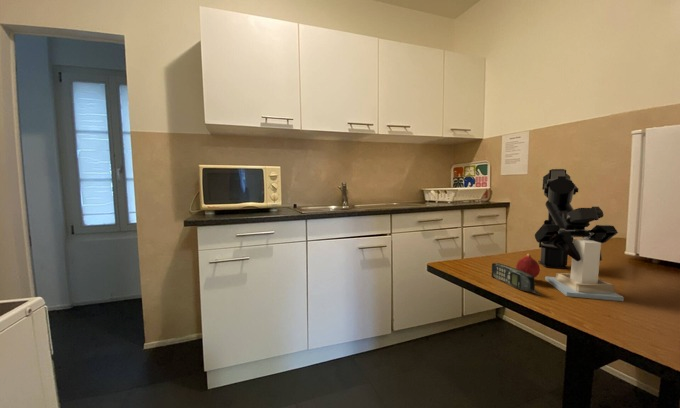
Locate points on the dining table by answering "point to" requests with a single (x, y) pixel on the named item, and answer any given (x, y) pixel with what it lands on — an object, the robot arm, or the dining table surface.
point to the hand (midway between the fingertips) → (589, 260)
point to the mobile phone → (514, 277)
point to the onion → (528, 265)
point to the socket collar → (579, 287)
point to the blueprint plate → (574, 293)
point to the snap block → (586, 261)
